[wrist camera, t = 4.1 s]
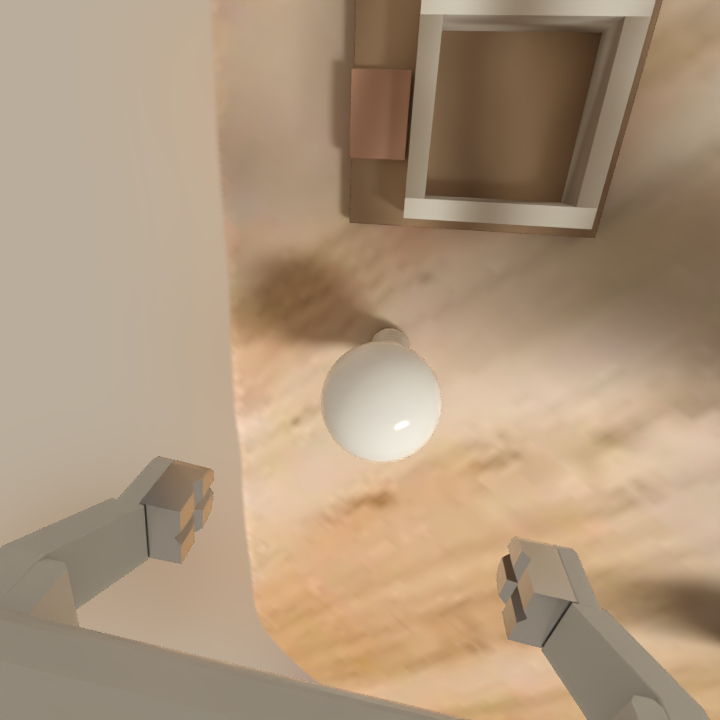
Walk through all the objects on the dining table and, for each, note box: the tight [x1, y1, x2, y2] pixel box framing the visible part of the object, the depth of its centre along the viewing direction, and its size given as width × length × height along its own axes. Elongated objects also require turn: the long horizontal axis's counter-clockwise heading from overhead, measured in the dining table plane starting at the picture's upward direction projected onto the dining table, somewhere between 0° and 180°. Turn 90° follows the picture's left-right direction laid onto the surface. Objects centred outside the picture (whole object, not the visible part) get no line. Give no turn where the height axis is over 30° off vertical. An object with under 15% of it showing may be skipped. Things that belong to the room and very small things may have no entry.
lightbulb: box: [321, 328, 442, 463], centre depth 24 cm, size 6×6×11 cm
